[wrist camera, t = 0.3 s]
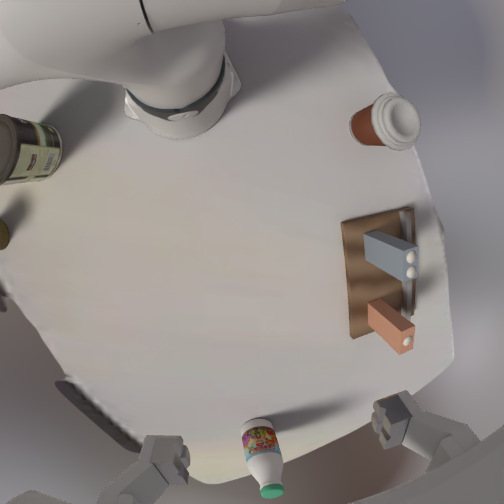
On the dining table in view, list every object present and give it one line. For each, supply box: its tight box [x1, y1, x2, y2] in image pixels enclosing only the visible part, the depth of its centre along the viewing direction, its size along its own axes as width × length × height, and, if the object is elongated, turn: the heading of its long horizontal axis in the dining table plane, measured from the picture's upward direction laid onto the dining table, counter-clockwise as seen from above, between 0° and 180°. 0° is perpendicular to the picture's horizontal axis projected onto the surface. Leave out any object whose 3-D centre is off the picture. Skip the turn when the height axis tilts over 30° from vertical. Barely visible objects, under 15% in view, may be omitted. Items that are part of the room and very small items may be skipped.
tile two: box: [363, 230, 418, 283], centre depth 44 cm, size 5×3×12 cm, turn 12°
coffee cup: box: [349, 93, 421, 151], centre depth 40 cm, size 9×9×12 cm
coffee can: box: [0, 114, 62, 186], centre depth 31 cm, size 10×10×14 cm
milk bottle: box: [241, 419, 284, 498], centre depth 50 cm, size 8×8×20 cm
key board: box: [341, 207, 416, 339], centre depth 52 cm, size 24×16×4 cm, turn 12°
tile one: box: [368, 299, 415, 355], centre depth 48 cm, size 5×3×12 cm, turn 12°
